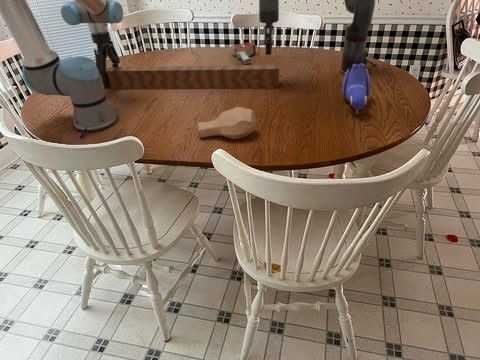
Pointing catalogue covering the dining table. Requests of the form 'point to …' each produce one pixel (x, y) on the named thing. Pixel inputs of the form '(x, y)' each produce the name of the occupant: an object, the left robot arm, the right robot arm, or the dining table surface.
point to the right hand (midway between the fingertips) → (269, 51)
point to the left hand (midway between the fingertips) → (113, 82)
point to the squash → (230, 124)
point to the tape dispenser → (243, 51)
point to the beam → (193, 77)
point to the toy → (356, 86)
